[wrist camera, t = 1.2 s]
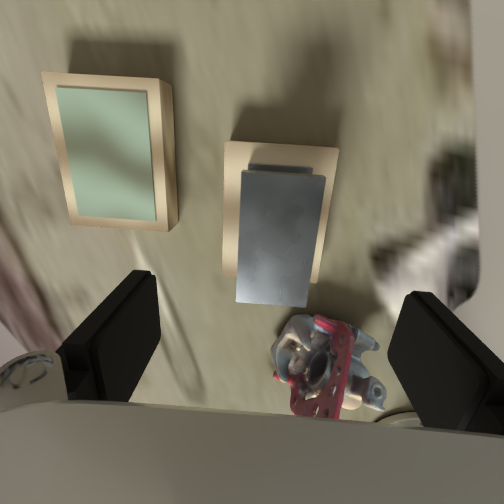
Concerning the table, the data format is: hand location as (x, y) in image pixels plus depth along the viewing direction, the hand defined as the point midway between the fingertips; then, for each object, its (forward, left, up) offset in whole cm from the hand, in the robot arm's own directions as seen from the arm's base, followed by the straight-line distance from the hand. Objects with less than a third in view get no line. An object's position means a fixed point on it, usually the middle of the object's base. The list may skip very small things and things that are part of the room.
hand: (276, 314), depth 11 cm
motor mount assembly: (-16, -7, -18) cm, 25 cm away
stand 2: (0, 0, -18) cm, 18 cm away
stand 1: (+4, +14, -18) cm, 23 cm away
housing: (0, 0, -15) cm, 15 cm away
